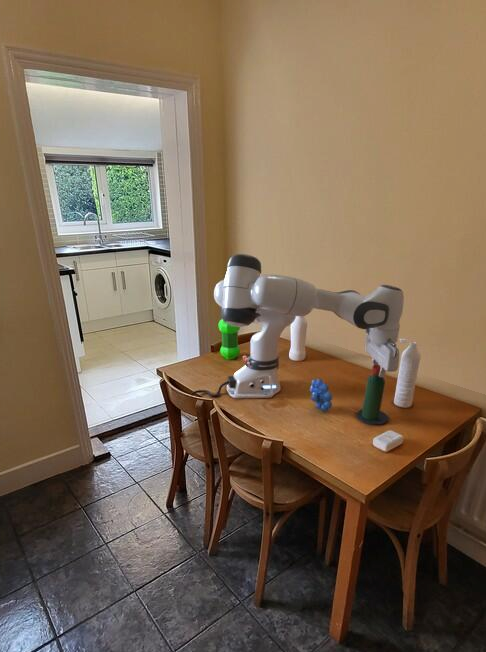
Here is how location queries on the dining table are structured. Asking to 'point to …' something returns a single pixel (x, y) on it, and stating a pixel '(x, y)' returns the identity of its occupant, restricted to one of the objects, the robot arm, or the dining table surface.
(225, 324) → the plastic bottle
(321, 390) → the grapes
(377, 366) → the cap
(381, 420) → the coaster
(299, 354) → the bottle
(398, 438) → the soap
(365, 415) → the green bottle
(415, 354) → the water bottle
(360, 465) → the dining table surface
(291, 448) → the dining table surface
